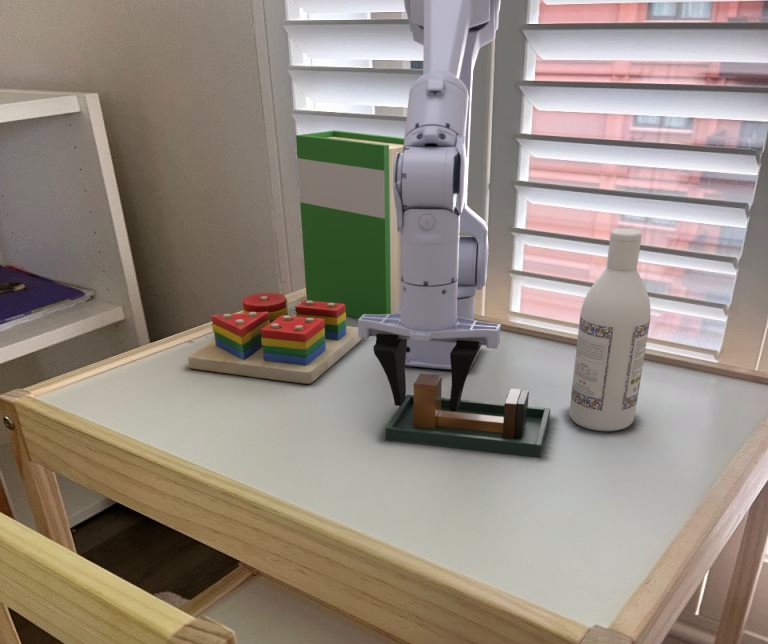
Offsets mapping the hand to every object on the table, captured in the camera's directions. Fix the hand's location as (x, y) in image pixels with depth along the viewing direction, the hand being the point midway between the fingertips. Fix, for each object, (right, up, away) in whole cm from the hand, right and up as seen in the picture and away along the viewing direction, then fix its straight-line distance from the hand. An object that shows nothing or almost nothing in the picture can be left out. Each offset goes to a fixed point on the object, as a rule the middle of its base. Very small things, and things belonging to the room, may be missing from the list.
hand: (427, 405), depth 86 cm
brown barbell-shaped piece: (+5, -2, 0) cm, 5 cm away
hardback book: (-8, +20, +37) cm, 43 cm away
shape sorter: (-19, +10, +21) cm, 30 cm away
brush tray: (+4, -3, 0) cm, 5 cm away
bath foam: (+19, -2, +2) cm, 19 cm away
